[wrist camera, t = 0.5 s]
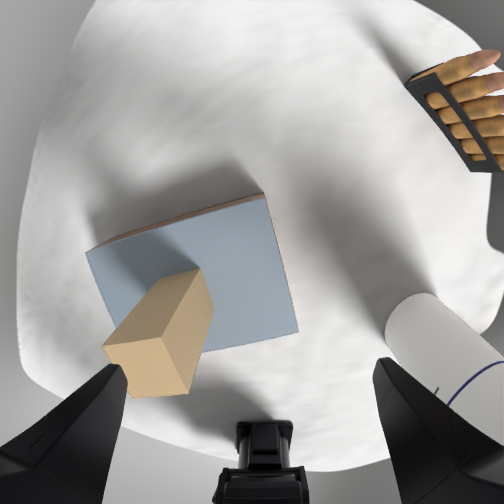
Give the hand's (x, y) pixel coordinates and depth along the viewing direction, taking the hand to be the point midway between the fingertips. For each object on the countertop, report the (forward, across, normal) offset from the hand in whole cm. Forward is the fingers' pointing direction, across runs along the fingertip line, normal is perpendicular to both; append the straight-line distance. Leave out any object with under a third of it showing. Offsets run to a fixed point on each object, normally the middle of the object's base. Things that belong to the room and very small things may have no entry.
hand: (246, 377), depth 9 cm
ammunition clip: (+18, -18, -8) cm, 27 cm away
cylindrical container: (+15, -16, +11) cm, 25 cm away
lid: (+12, +5, +4) cm, 13 cm away
